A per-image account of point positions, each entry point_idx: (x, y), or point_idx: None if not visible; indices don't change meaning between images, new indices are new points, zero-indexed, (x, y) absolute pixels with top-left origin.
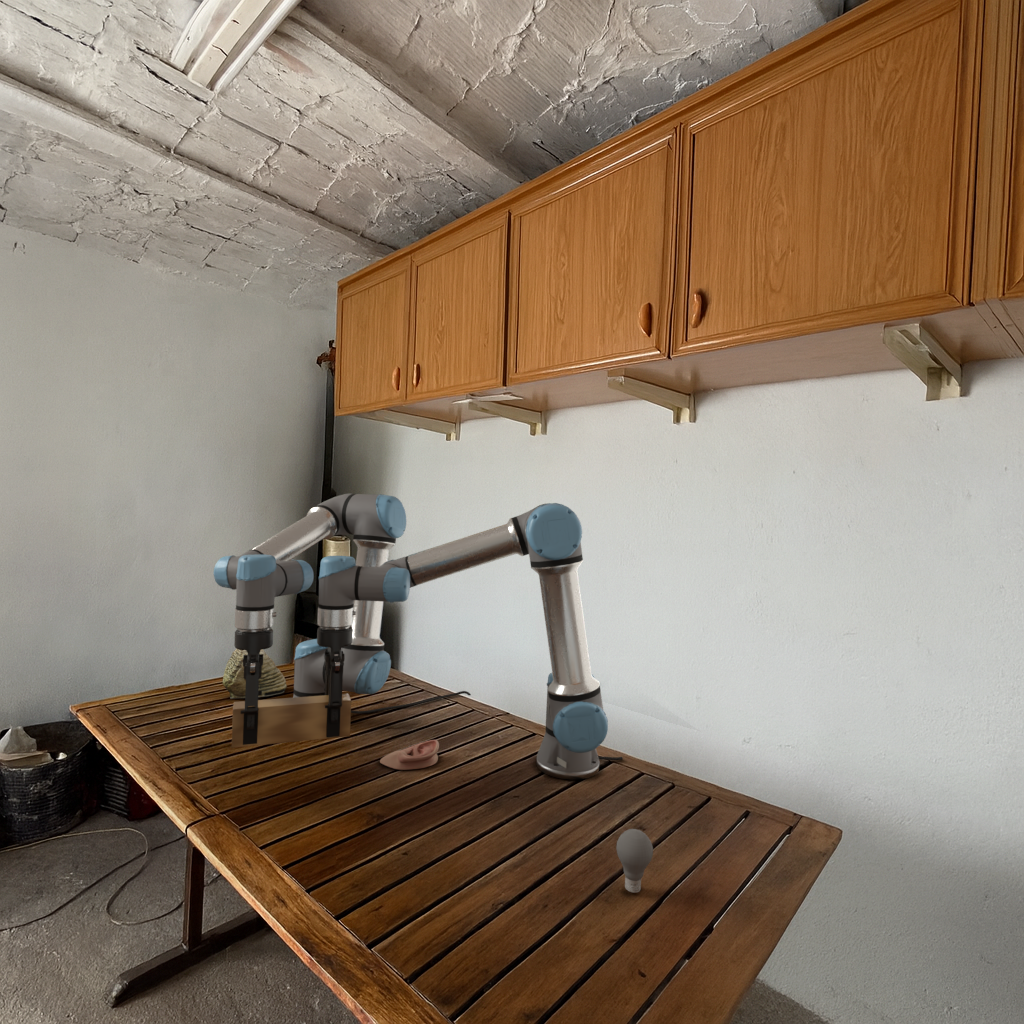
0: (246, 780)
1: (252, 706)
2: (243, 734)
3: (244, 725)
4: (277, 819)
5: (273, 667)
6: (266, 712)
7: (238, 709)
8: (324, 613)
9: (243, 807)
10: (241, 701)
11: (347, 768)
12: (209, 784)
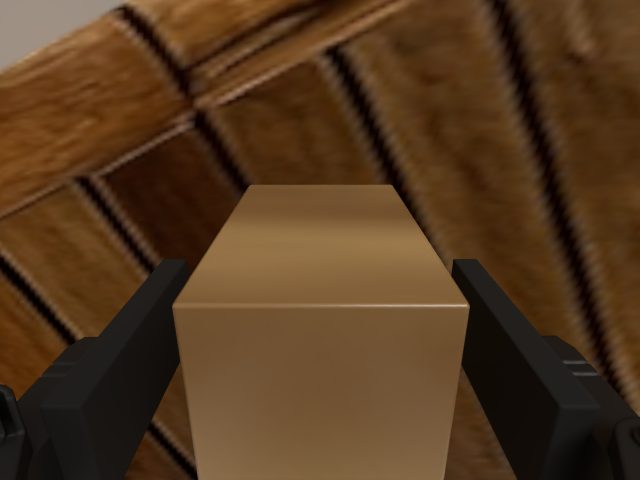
0: (431, 186)
1: (236, 472)
2: (138, 292)
3: (107, 334)
4: (130, 275)
5: None
6: None
7: (181, 354)
8: None
9: (224, 182)
10: (450, 379)
11: None
12: (445, 55)
